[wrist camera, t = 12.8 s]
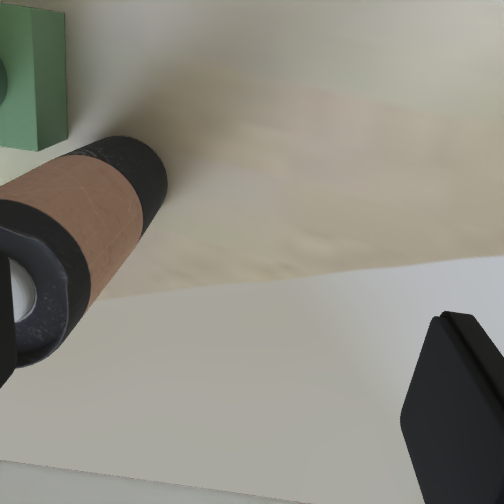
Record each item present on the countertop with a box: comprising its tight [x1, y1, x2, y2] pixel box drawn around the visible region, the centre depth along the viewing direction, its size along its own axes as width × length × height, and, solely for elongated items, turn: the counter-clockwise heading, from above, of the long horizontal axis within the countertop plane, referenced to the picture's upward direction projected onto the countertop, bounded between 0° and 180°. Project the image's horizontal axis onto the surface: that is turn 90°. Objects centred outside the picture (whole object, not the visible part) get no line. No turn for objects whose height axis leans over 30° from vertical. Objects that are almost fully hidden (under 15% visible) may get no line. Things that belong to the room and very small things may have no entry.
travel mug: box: [0, 136, 167, 369], centre depth 29 cm, size 8×8×20 cm
